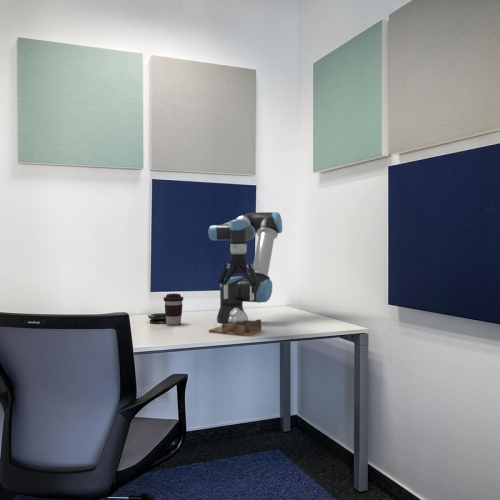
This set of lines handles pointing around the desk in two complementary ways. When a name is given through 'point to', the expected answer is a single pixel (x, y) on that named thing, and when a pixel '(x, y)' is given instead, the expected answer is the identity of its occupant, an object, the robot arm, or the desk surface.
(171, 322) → the coffee cup
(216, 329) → the open wooden box
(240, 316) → the silver round lump
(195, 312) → the desk surface
